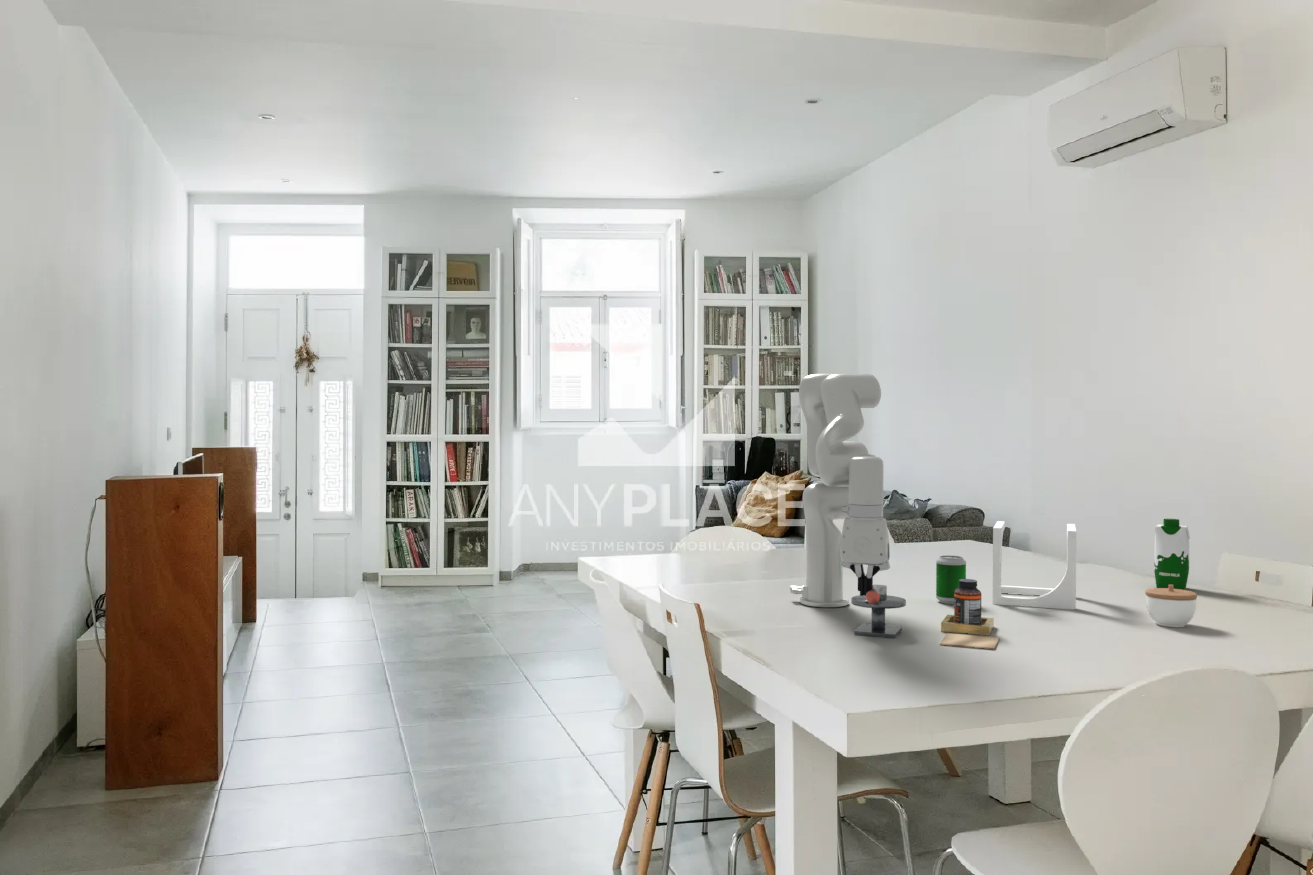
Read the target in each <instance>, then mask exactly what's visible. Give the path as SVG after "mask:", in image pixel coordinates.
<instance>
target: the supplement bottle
mask: <svg viewBox="0 0 1313 875" xmlns="http://www.w3.org/2000/svg"><path fill="white" fill-rule="evenodd" d="M953 605H954V607H953V609H954V610H953V611H954V612H953V615H954V623H964V624H976V625H981V617H982V592H981V590H980V589H979V588H978V581H977V580H976V579H972V578H966V579H960V580H959V587H958V589H956V590H955V593H954V604H953Z"/></svg>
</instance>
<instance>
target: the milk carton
mask: <svg viewBox="0 0 1313 875" xmlns="http://www.w3.org/2000/svg"><path fill="white" fill-rule="evenodd" d="M1153 551H1154V554H1153V556H1154V557H1153V558H1154V560H1153V561H1154V562H1153V563H1154V564H1153V565H1154V566H1153V568H1154V569H1153V570H1154V580H1155V585H1156V586H1155V588H1169V585H1173V589H1181V590H1186V588H1187V584H1188V578H1189V574H1190V531H1189V527H1188V525H1181V524H1180V519H1179V518H1164V519H1163V524H1159V523H1158V524H1156V526H1155V530H1154V550H1153Z"/></svg>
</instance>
